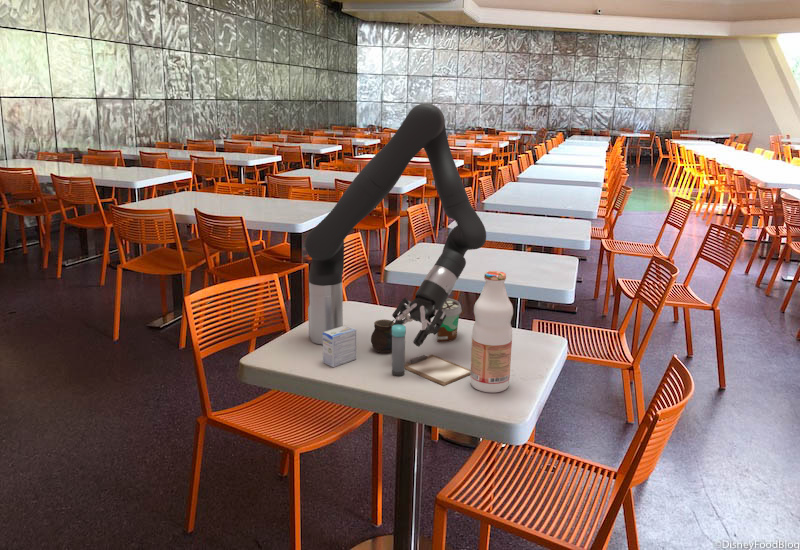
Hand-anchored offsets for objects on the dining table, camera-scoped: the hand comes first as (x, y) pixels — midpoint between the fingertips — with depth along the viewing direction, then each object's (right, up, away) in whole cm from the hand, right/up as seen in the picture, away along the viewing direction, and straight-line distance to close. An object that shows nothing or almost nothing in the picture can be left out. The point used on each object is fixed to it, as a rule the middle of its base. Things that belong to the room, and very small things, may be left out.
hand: (403, 340), depth 159 cm
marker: (-1, -9, +1) cm, 9 cm away
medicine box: (-17, -7, +8) cm, 20 cm away
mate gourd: (-5, -5, +16) cm, 18 cm away
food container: (+14, -2, +27) cm, 30 cm away
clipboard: (+9, -8, +4) cm, 12 cm away
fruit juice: (+21, -11, -4) cm, 24 cm away
